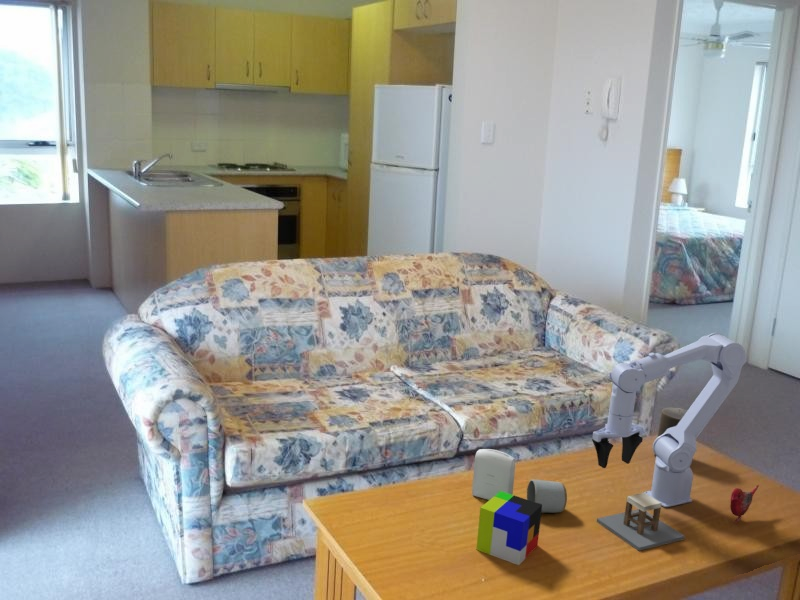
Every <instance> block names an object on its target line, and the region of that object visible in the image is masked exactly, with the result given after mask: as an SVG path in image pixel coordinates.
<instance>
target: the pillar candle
mask: <svg viewBox="0 0 800 600" xmlns="http://www.w3.org/2000/svg"><path fill="white" fill-rule="evenodd" d="M687 411H688V409H687V410H686V409H684V408H680V407H664V408H663V409H662V410H661V415H660V419H659V427H658V431H657V437H659V436H660V435H662V434H663V433H665V431H666V430H667V429H668V428H671V427H675V426H677V425H678V423H679V422H680V420H681V419H682V418H683V416H684V415H685V413H686V412H687ZM657 437H656V438H657ZM654 458H656V454H655V453H654Z"/></svg>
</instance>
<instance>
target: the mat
mask: <svg viewBox="0 0 800 600" xmlns="http://www.w3.org/2000/svg"><path fill="white" fill-rule="evenodd" d="M638 512H639V509H638V508H637V509H634V510H633V509H632V512H631V514H633V513H638ZM646 514H647V515H648V516H650V517H651V518H653V514H651V513H649V511H647V513H646ZM624 516H625V511H624V512H620V513H616V514H611V515H607V516H606V515H605V516H603V517H597V518H596V523H598V524H599V525H601V526H602V527H603V528H605V529H607V530H608V531H610V532H611V533H612V534H614V535H615V536H616V537H619V539H621V540H623V541H624V542H626V543H627V544H628V545H630V546H631V547H632V548H634V549H636V550H637V551H638V552H640V551H643V550H648V549H651V548H655V547H659V546H663V545H667V544H671V543H675V542H679V541H683V540H685V538H686V535H684V534H683V533H681V532H679V531H678V530H676V529H675V528H673V527H671V526H670V525H668V524H667V523H665V522H664V521H663V520H661V519H659V523H658V530H657V531H653V530H651V526H652V525H650V526H646V527H644V533H643V534H642V535H639V534H638V533H637V529H638V525H636V524H635V523H633V522H632V521H630V525H628V526H626V525H624V524H623V523H624ZM633 518H634V519H635V520H638V516H637V517H633ZM638 522H639V521H638ZM646 522H650V521H649V520H648V519H645V523H646Z"/></svg>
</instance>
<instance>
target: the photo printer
mask: <svg viewBox="0 0 800 600" xmlns="http://www.w3.org/2000/svg"><path fill="white" fill-rule="evenodd" d="M515 470H516V458H515V457H513V456H511V455H510V454H509V453H506V452H503V451H501V450H497V449H491V448H482V449H481V448H480V449H478V450H477V451H476V453H475V456H474V466H473V473H472V474H473V475H472V486H471V487H472V488H471V495H472V496H474V497H477V498H481V499H484V500H488V501H489V500H490V499H491V498H493V497H494V496H495V495H496V494H498V493H499V492H500V491H502V492H505V493H508V494H511V495H514V482H515V472H516V471H515Z"/></svg>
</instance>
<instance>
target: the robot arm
mask: <svg viewBox="0 0 800 600" xmlns="http://www.w3.org/2000/svg"><path fill="white" fill-rule="evenodd" d="M647 354H648V356H645V357H642V358H639V359H637V360H634V359H633V360H630V361H629V363H627V362H626V363H625V362H620V363H618V364H616V365H614V367H613V368H612V370H611V372H609V373H608V374H609V380H610V381H611V383H612V386H611V395H610V401H609V410H608V417H607V423H605V424H604V427H602V428H599V430H595V431H593V432H592V438H591V442H592V443H593V446H594V449H595V451H596V457H597V464H598V466H599V467H601V468H602V469H607V466H608V463H609V457H610V454H611V452H612V449H613V447H614V444H612V443H611V442H610V441H609V440H610V439H611V440H612V439H616V438H621V441H622V442H621V444H622V447H621V461H622V462H623V463H625V464H627V465H628V464H630V463H631V460H632V458H633V456H634V453H635V452H636V451H637V449H638V447H639V446H640V445H641V443H643V439H644V437H642V436H643V434H644V433H643V432H644V426H641V424H640V425H639V424H633V418H634V417H633V416H634V411H635V403H636V396H637V395H636V394H637V391H639V390H640V389H641V387H642V386H643V385H645V384H646V383H648V382H651V381H654V380H656V379H660V378H663V377H665V376H667V375H668V374H669V370H670V369H673V368H676V367H678V366H679V367H680V366H683V365H687V364H690V363H693V362H695V361H699V360H702V361H707V362H709V363H710V366H711V370H712V376H711V378H710V379H709V380H708V382H707V383H706V385H705V386H704V388H703V389H702V390H701V392H700V393H699V394H698V396H696V398H695V400H694V401H693V402H692V404H691V405H690V407H689V408H688V409H687V412H686V413H685V415H684V416H683V418H682V419H681V420H680V422H679V423H678V425H677V426H675V427H671V428H668V429H667V430H666V431H665V433H663V434H662V435H660V436H659V437H656V438H655V439H654V441H653V443H652V452H653V453H654V455H655V454H656V457H655V460H654V461H655V463H654V468H653V474H652V475H653V476H652V481H651V482H652V483H651V490H647V491H643V492H642V493H646V494H648V495H649V496H651V497H653V498H654V499H656V500H658V501H659V502H661V503H662V504H661V507H664V508H670V507H675V506H678V505H683V504H687V503H688V504H689V503H692V502H693V499H692V498H691V492H692V487H693V481H694V474H693V470H692V469H691V465H692V463H693V458H694V456H695V454H696V452H697V438H698V437H699V436H700V434H701V432H703V430H704V429H705V428H706V426H707V425H708V423H709V422H710V421H711V419H713V417H714V415H715V414H716V412H717V411H718V409H720V407H721V405H722V404H723V403H724V401H725V400H726V399H727V398H728V396H729V395H730V393H731V392H732V391H733V390H734V388H735V387H736V385H737V383H738V382H739V379H740V376H741V372H742V367H743V366H744V365H745V364H746V362H747V360H748V358H747V355H746V350H745V348H744V346H743V345H742V344H741V343H739V342H736V341H734V340H732V339H730V338H728V337H726V336H724V335H723V334H722V333H719V332H712V333H710V334H708V335H703V336H701V337H700V338H699V339H697V341H694V342H692V343H690V344H688V345H685V346H683V347H681V348H678V349H676V350H674V351H672V352H671V351H670V352H669V353H667V354H665V355H664V354H661V353H660V352H656V353H654V352H653V351H652V352H649V353H647Z"/></svg>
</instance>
